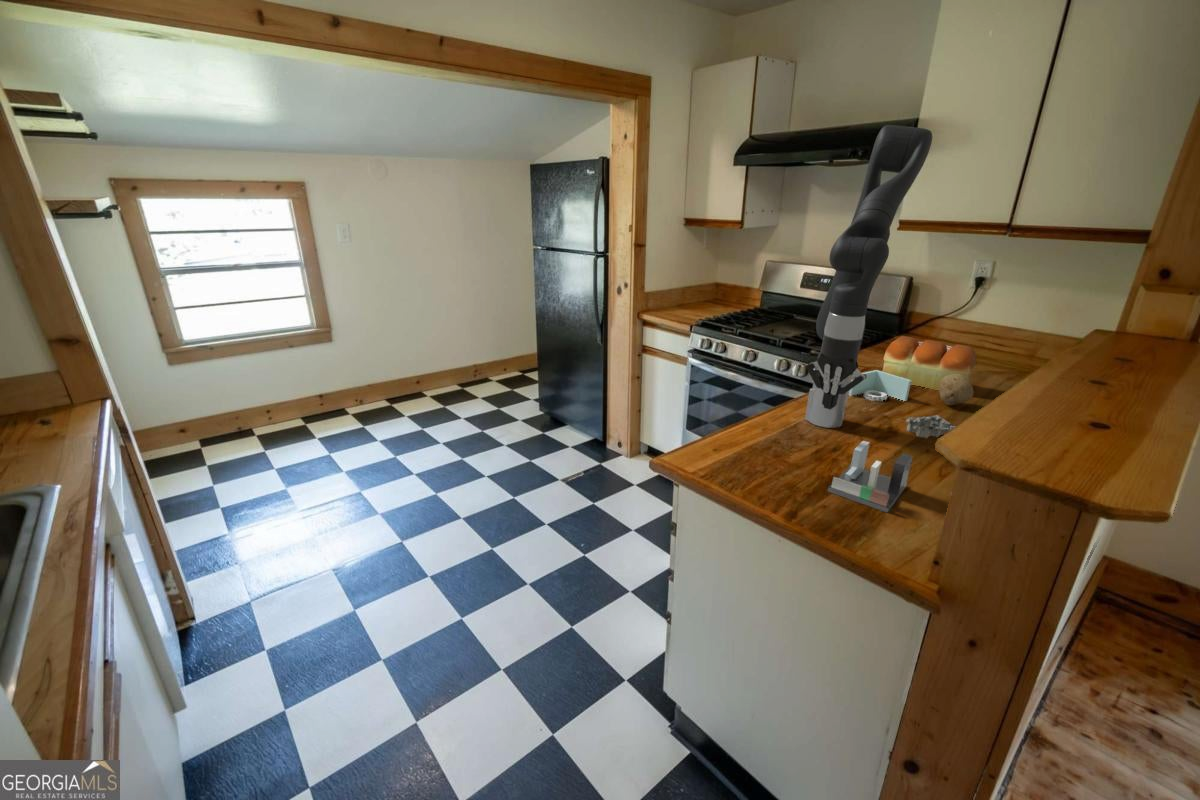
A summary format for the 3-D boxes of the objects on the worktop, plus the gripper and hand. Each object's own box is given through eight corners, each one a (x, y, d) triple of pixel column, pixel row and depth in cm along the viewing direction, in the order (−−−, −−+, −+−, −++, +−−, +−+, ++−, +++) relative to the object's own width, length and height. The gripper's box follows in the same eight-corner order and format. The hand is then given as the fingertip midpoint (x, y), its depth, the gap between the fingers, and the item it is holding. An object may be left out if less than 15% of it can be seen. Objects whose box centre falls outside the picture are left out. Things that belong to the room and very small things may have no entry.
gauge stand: (827, 491, 113) (833, 458, 110) (849, 468, 123) (856, 438, 120) (887, 512, 105) (895, 478, 103) (906, 486, 115) (914, 454, 112)
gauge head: (841, 484, 113) (846, 456, 111) (857, 467, 120) (863, 440, 118) (847, 487, 112) (853, 458, 110) (863, 469, 119) (869, 442, 117)
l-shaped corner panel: (848, 396, 169) (852, 375, 166) (872, 391, 174) (876, 369, 172) (881, 409, 159) (886, 386, 156) (906, 402, 164) (911, 380, 162)
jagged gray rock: (920, 439, 138) (923, 425, 137) (900, 428, 145) (904, 414, 144) (955, 437, 140) (959, 423, 138) (935, 425, 147) (938, 412, 145)
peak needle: (864, 495, 109) (871, 466, 106) (870, 489, 111) (876, 460, 109) (869, 497, 108) (876, 468, 106) (875, 491, 111) (881, 461, 108)
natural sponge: (969, 404, 162) (977, 373, 158) (969, 413, 155) (978, 381, 151) (935, 398, 167) (942, 368, 163) (933, 406, 160) (941, 376, 156)
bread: (968, 387, 177) (980, 345, 172) (961, 396, 169) (973, 352, 163) (889, 371, 193) (897, 332, 188) (879, 379, 184) (887, 339, 179)
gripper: (881, 336, 110) (864, 411, 116) (820, 325, 118) (807, 395, 125) (869, 343, 105) (852, 421, 111) (805, 331, 113) (793, 404, 120)
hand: (828, 407), depth 118 cm, fingers closed
